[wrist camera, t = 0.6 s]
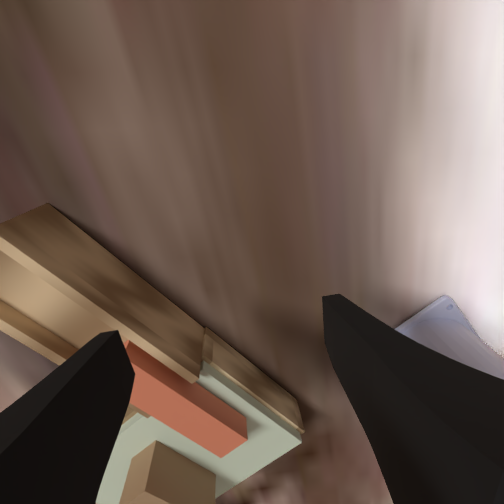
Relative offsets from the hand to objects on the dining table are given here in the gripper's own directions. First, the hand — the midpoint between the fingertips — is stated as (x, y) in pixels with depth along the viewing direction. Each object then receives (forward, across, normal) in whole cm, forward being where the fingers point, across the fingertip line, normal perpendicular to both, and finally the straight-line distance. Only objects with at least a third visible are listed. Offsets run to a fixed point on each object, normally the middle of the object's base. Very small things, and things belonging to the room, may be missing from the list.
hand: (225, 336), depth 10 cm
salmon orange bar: (+6, +4, +8) cm, 11 cm away
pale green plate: (+7, +6, +16) cm, 18 cm away
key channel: (+10, +8, +3) cm, 13 cm away
